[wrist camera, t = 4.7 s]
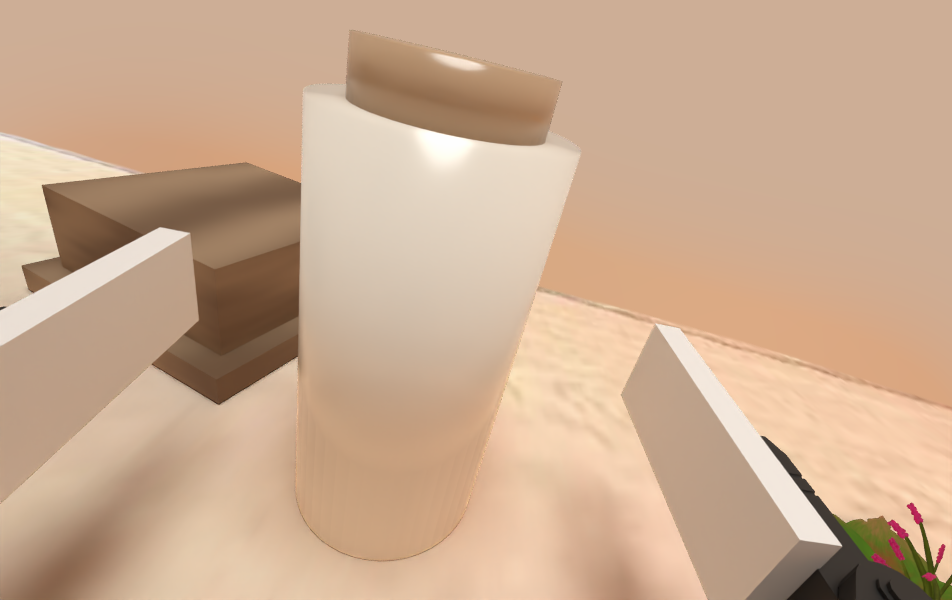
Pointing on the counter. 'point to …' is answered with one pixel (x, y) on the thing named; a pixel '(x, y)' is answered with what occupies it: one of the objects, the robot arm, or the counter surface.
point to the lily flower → (899, 552)
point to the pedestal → (199, 260)
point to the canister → (415, 282)
